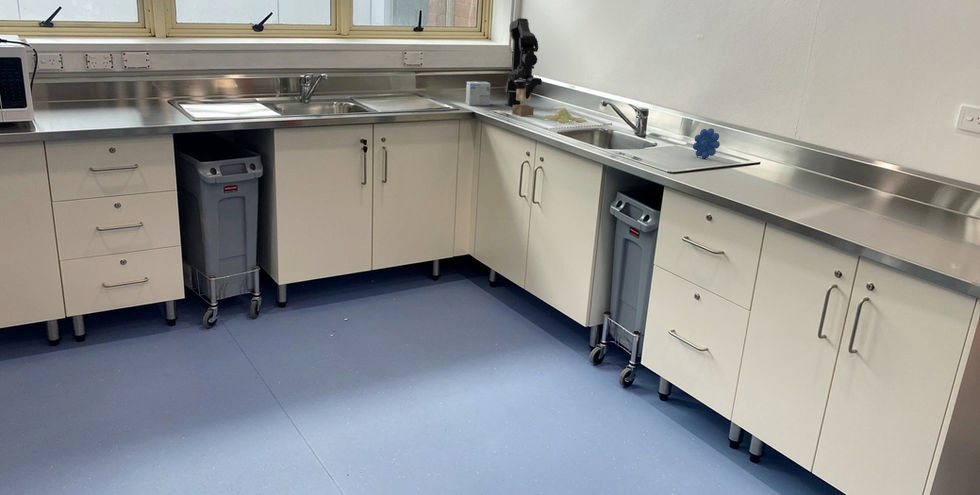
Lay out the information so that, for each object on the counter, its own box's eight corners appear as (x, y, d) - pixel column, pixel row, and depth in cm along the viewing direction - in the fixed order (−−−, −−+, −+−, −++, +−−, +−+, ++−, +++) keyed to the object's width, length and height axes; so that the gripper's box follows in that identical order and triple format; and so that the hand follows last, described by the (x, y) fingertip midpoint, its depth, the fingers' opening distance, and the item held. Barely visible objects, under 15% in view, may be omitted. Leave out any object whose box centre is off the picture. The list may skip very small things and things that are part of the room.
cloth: (594, 123, 376) (595, 109, 374) (568, 126, 363) (569, 113, 361) (557, 115, 390) (558, 102, 388) (531, 118, 378) (532, 104, 376)
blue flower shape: (723, 161, 312) (728, 129, 308) (712, 162, 308) (717, 131, 304) (698, 154, 320) (703, 124, 316) (687, 156, 316) (692, 125, 312)
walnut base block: (512, 113, 383) (512, 105, 381) (524, 113, 386) (524, 104, 385) (520, 116, 377) (521, 107, 376) (533, 115, 381) (533, 107, 380)
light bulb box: (485, 103, 407) (486, 81, 403) (489, 105, 401) (491, 83, 397) (465, 103, 403) (466, 80, 400) (468, 105, 397) (470, 83, 394)
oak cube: (515, 99, 380) (516, 88, 379) (524, 99, 383) (525, 88, 381) (522, 101, 376) (522, 90, 375) (530, 101, 379) (531, 90, 377)
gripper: (500, 61, 377) (498, 95, 382) (523, 66, 363) (521, 101, 368) (520, 60, 383) (517, 94, 388) (543, 66, 368) (541, 101, 374)
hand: (523, 97), depth 379 cm, fingers closed on oak cube, 5 cm apart
